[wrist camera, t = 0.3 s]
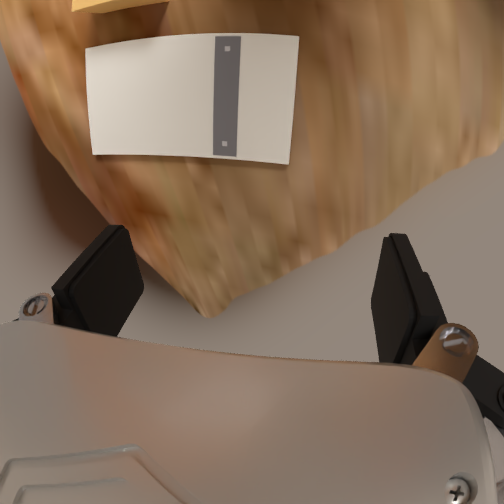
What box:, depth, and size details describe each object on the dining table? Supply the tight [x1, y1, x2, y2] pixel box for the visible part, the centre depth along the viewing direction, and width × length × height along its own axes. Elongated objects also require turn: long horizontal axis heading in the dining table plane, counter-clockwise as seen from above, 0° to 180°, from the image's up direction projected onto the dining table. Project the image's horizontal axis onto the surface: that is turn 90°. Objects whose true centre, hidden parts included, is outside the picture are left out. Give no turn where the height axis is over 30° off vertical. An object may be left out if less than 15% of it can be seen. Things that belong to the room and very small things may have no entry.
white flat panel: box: [86, 33, 299, 165], centre depth 36 cm, size 16×28×1 cm, turn 87°
